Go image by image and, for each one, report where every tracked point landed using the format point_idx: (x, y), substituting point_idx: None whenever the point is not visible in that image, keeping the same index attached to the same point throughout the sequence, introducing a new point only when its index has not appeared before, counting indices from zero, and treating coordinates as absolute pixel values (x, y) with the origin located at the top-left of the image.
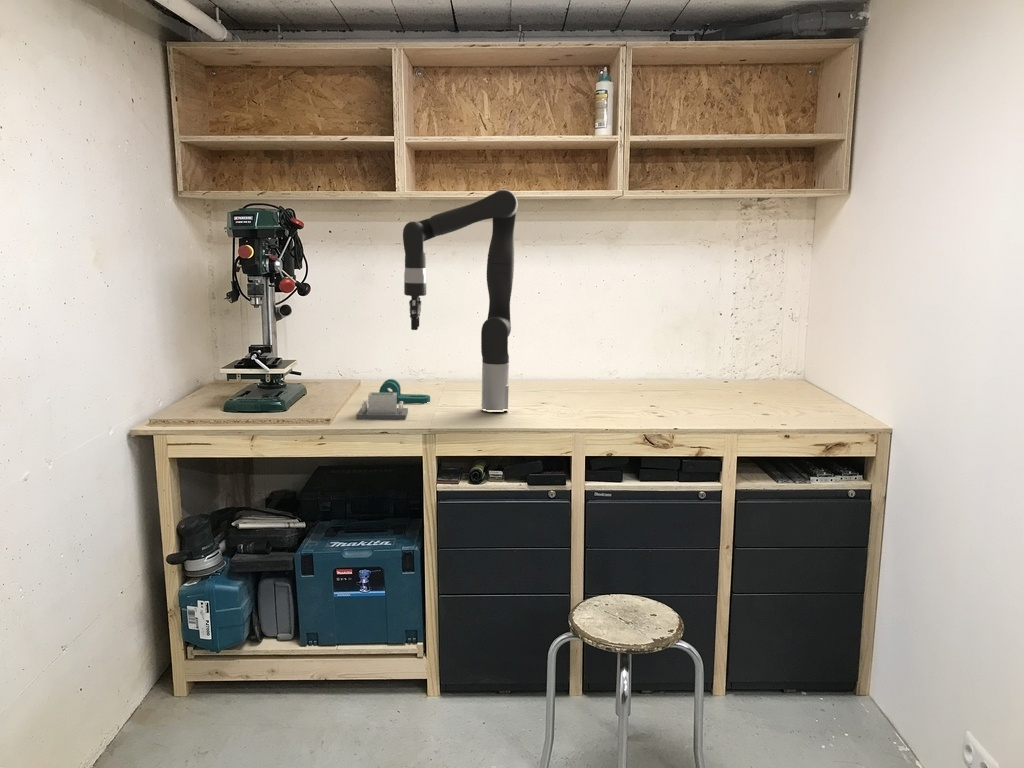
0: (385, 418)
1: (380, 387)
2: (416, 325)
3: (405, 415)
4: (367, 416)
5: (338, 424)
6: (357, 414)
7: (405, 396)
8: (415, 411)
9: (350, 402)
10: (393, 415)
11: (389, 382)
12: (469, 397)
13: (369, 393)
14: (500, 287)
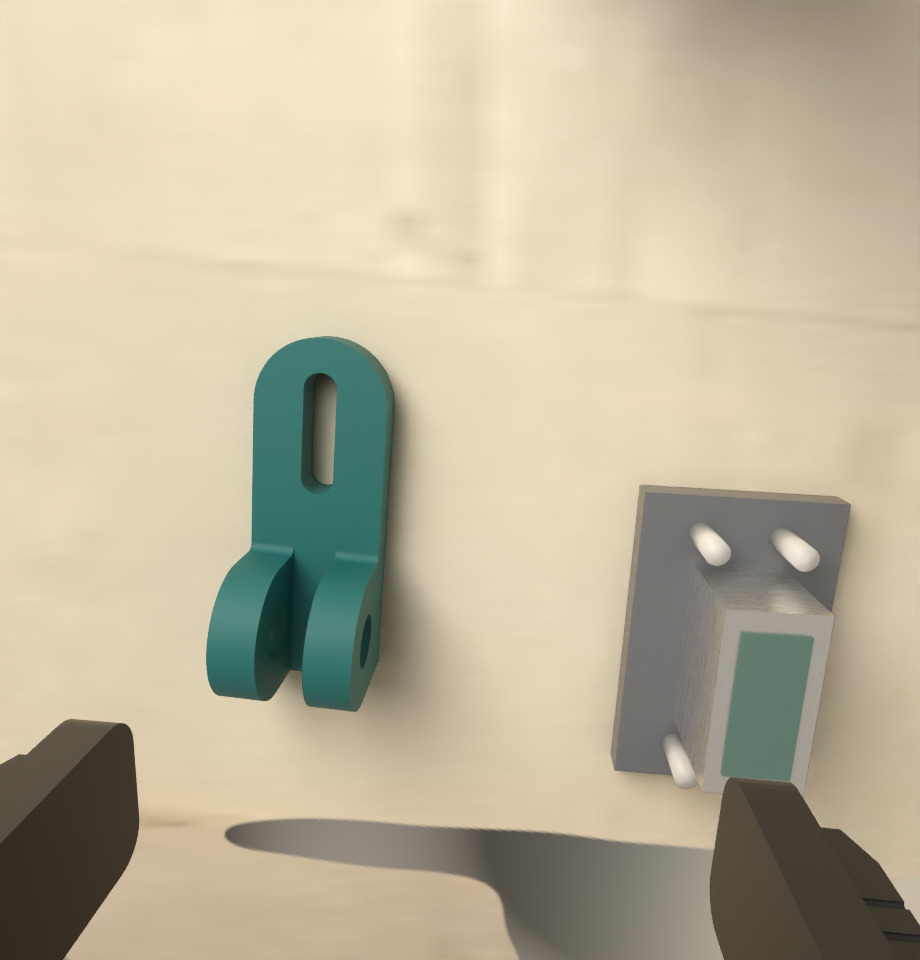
0: None
1: (355, 710)
2: (833, 890)
3: (850, 505)
4: None
5: (893, 848)
6: None
7: (326, 515)
8: (613, 436)
9: (364, 816)
10: (834, 578)
11: (342, 669)
12: (158, 13)
13: None
14: None
